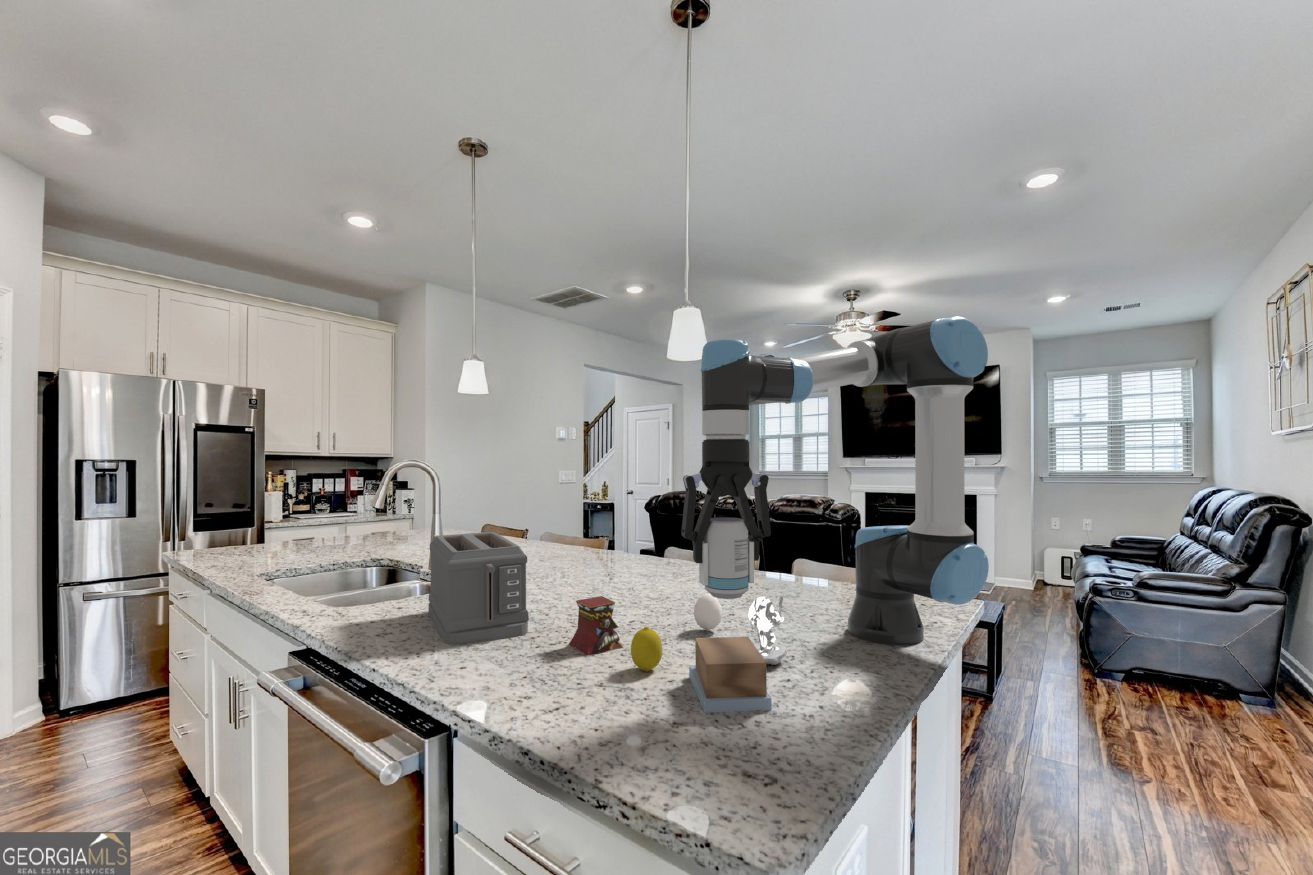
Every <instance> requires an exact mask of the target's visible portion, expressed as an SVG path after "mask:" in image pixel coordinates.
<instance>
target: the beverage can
mask: <svg viewBox="0 0 1313 875" xmlns="http://www.w3.org/2000/svg"><path fill="white" fill-rule="evenodd" d="M743 521H744V520H743V519H742V518H740V517H731V516H730V517H727V516H726V517H711V519H710V522H709V525H708V528H707V531H706V534H705V537H704V540H703V541H705V542H706V543H708V585H707V586H704V590H706V591H707V592H708V594H711V595H712V596H713V597H716V598H717V599H722V600H735V599H739V598H741V597H742V596H743V595H745V593H747V592H748V591H749V583H748V539H749V537H748V530H747V528H746V526H745V524H744V522H743Z"/></svg>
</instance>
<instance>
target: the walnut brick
mask: <svg viewBox="0 0 1313 875" xmlns="http://www.w3.org/2000/svg"><path fill="white" fill-rule="evenodd" d="M695 665H696V670H697V673H698V676H699V679H700V681H701V684H702V687H703V690H704V693H705V695H706V698H736V697H765V696H767V693H768V691H767V686H768V684H767V664H766V661H765V660H764V659H763V657H762V656H761V654H760V653H759V651H758V648H757V647H756V646H755V644H754V643H753V641H752V640H751V638H750V636H727V637H726V636H725V637H723V636H722V637H720V636H719V637H717V636H716V637H695Z"/></svg>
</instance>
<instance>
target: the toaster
mask: <svg viewBox="0 0 1313 875" xmlns="http://www.w3.org/2000/svg"><path fill="white" fill-rule="evenodd" d="M429 551H430V591H429V593H428V602H429V603H428V615H429V617H430V620H431V622H432V624H433V625H434V627H435V629H436V631H437V632H438V634H439V637H440V638H441V640H442V642H443V643H444V644H446V645H455V646H456V645H465V644H471V643H472V644H473V643H480V642H487V641H495V640H496V641H497V640H502V639H510V638H516V637H521V636H524V635H526V634H528V630H529V625H528V624H529V620H530V618H529V617H530V616H529V611H528V610H527V564H528V556H527V554H525V553H524V551H523V549H521V547H520V546H519V545H518V544H516V543H514V541H513V542H512V541H511V540H509V539H507V538H505V537H504V536H502V535H501V534H499V533H497V532H495V531H486V532H485V531H483V532H474V533H473V532H472V533H458V534H443V535H436V536H435V538H434V539H433V540H432V541H431V543H429Z"/></svg>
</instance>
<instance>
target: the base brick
mask: <svg viewBox="0 0 1313 875" xmlns="http://www.w3.org/2000/svg"><path fill="white" fill-rule="evenodd" d="M688 669H689V674H688V676H689V680H690V682H691V684H692V686H693V689H694V691H695V693H696V697H697V698H698V700H699V703H700V705H701V707H702V709H703V712H704V713H705V714H707V713H729V712H730V713H731V712H732V711H736V712H753V711H752V710H761V711H772V696H771V695H770V694H769V693H768V692H767V696H765V697H736V698H706V695H705V693H704V690H703V687H702V684H701V681H700V679H699V676H698V673H697V670H696V664H695V665H693V664H692V665H689V666H688ZM750 710H751V711H750Z"/></svg>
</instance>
